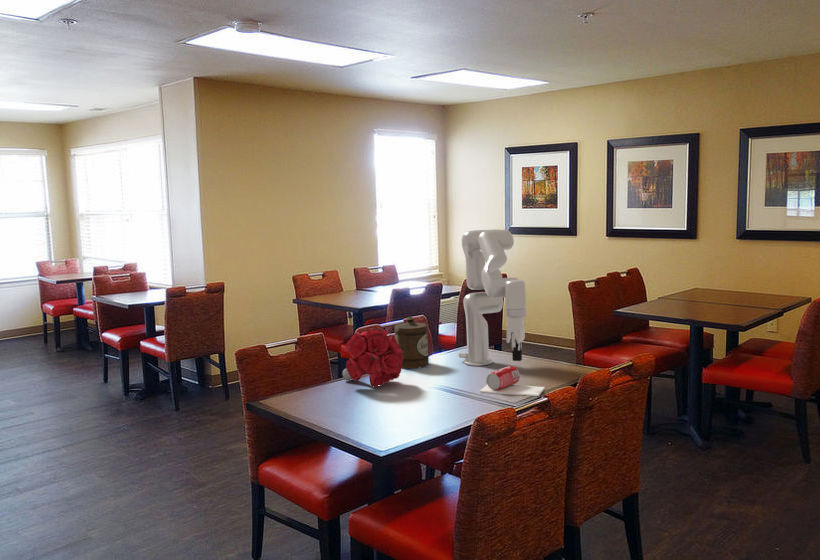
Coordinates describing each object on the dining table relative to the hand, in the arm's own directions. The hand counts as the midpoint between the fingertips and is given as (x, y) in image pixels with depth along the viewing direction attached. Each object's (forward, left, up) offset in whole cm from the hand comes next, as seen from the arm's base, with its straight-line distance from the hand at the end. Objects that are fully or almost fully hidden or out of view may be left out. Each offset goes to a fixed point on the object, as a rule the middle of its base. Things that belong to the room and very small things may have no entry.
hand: (517, 360), depth 251 cm
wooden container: (-55, +25, -11) cm, 62 cm away
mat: (-1, -4, -11) cm, 12 cm away
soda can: (-2, +4, -7) cm, 8 cm away
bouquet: (-58, -9, -11) cm, 59 cm away
